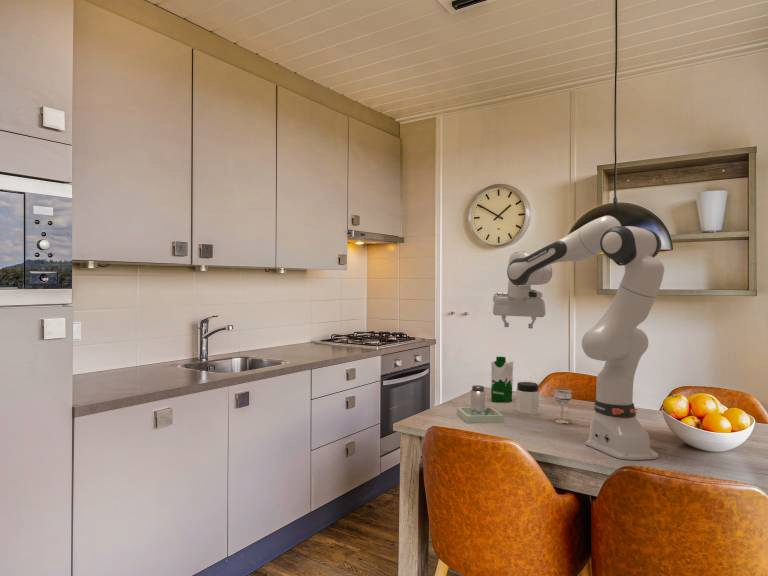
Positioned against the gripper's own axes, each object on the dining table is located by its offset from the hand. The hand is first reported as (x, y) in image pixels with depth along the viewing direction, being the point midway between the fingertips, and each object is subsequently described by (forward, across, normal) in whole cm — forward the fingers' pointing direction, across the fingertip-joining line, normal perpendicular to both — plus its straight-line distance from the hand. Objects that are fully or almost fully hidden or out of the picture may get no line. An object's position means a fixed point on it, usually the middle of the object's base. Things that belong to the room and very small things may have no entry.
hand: (518, 327), depth 207 cm
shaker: (+34, -11, -16) cm, 40 cm away
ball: (+34, -11, -8) cm, 37 cm away
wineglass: (+35, +17, 0) cm, 39 cm away
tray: (+35, -11, -14) cm, 39 cm away
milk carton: (+35, -12, +22) cm, 43 cm away
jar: (+35, +3, +7) cm, 36 cm away
